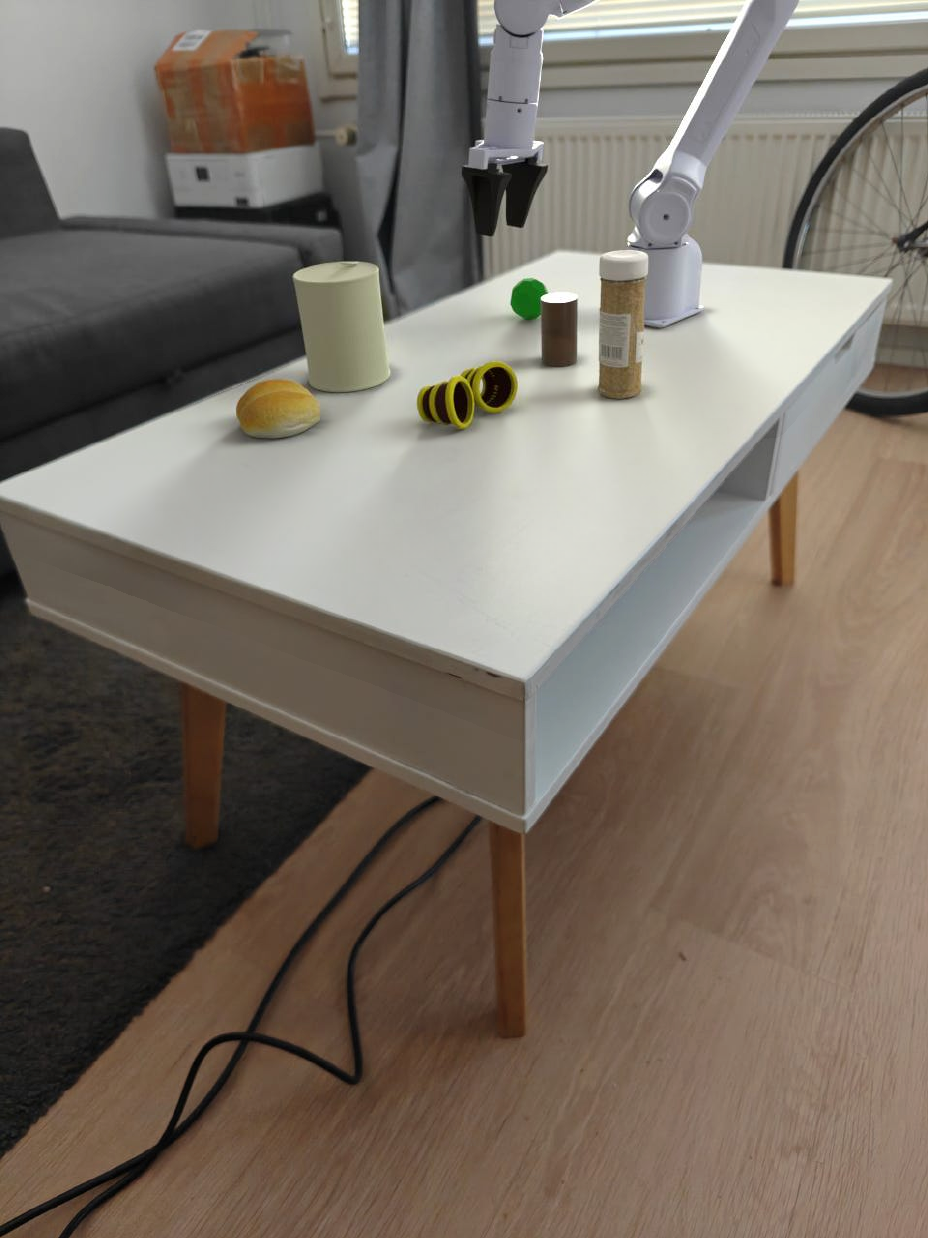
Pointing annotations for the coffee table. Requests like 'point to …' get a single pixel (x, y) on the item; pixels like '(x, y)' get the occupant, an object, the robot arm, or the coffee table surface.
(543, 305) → the walnut peg
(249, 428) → the bread roll
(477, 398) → the opera glasses
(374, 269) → the can
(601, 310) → the sprinkles bottle
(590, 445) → the coffee table surface
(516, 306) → the polyhedron
